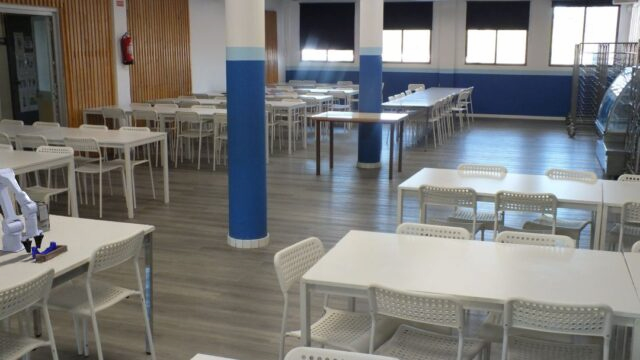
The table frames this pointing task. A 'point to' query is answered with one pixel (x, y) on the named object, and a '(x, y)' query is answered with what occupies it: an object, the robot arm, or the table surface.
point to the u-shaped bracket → (52, 253)
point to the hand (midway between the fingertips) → (33, 250)
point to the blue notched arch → (46, 251)
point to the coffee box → (43, 217)
